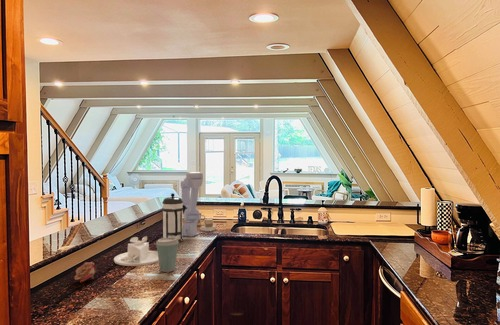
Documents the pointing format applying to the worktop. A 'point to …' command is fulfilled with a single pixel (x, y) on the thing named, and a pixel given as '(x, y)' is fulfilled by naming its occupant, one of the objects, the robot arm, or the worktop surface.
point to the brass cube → (208, 223)
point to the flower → (85, 271)
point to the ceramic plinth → (208, 228)
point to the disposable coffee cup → (167, 253)
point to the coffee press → (173, 217)
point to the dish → (137, 254)
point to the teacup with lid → (200, 219)
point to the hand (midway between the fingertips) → (185, 216)
